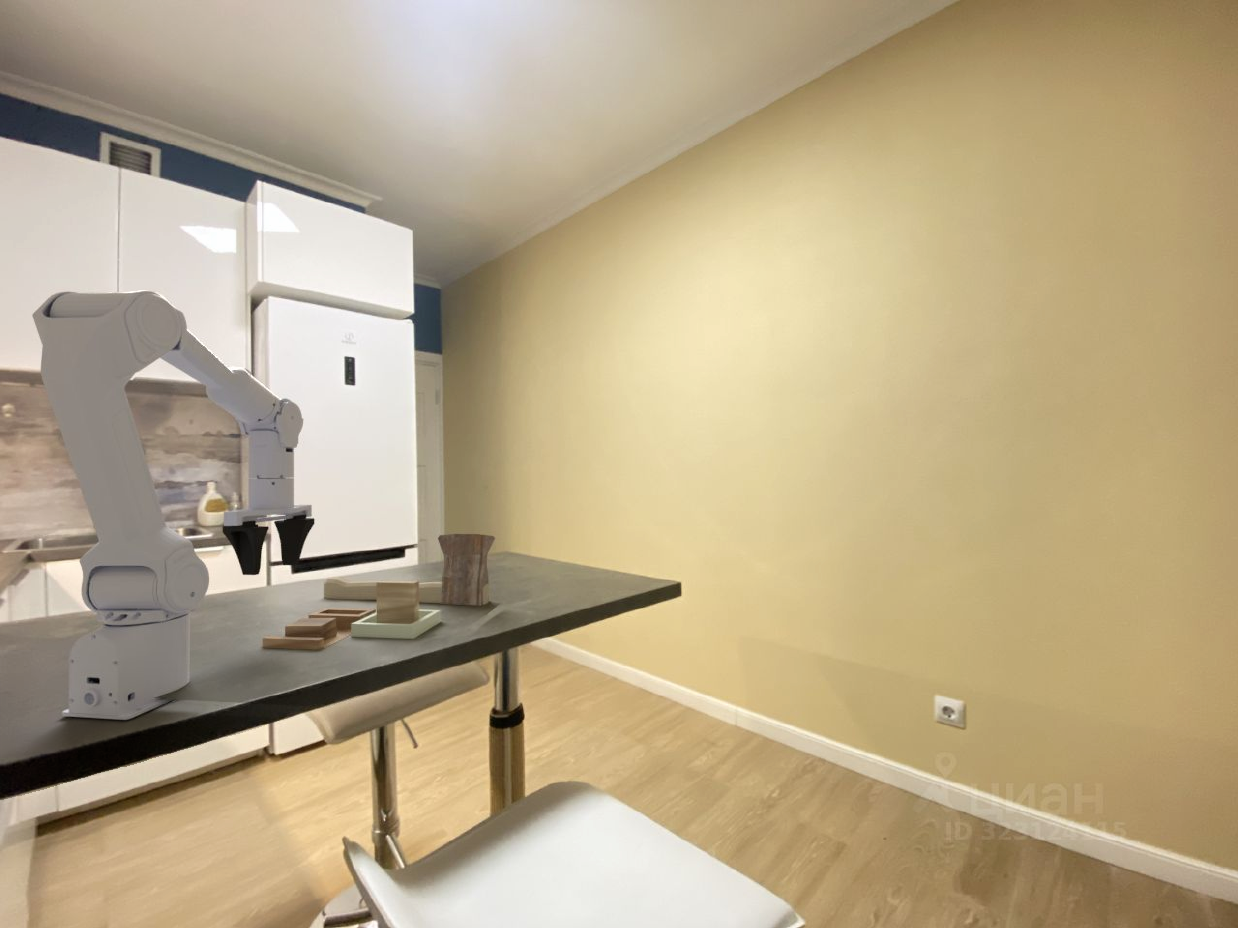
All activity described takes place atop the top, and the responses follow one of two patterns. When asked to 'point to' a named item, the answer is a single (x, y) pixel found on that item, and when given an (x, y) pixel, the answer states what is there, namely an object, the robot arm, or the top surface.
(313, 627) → the offcut top
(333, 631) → the offcut low
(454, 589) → the hand axe
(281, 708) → the top surface
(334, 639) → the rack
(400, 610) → the upright wooden block
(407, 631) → the tray
